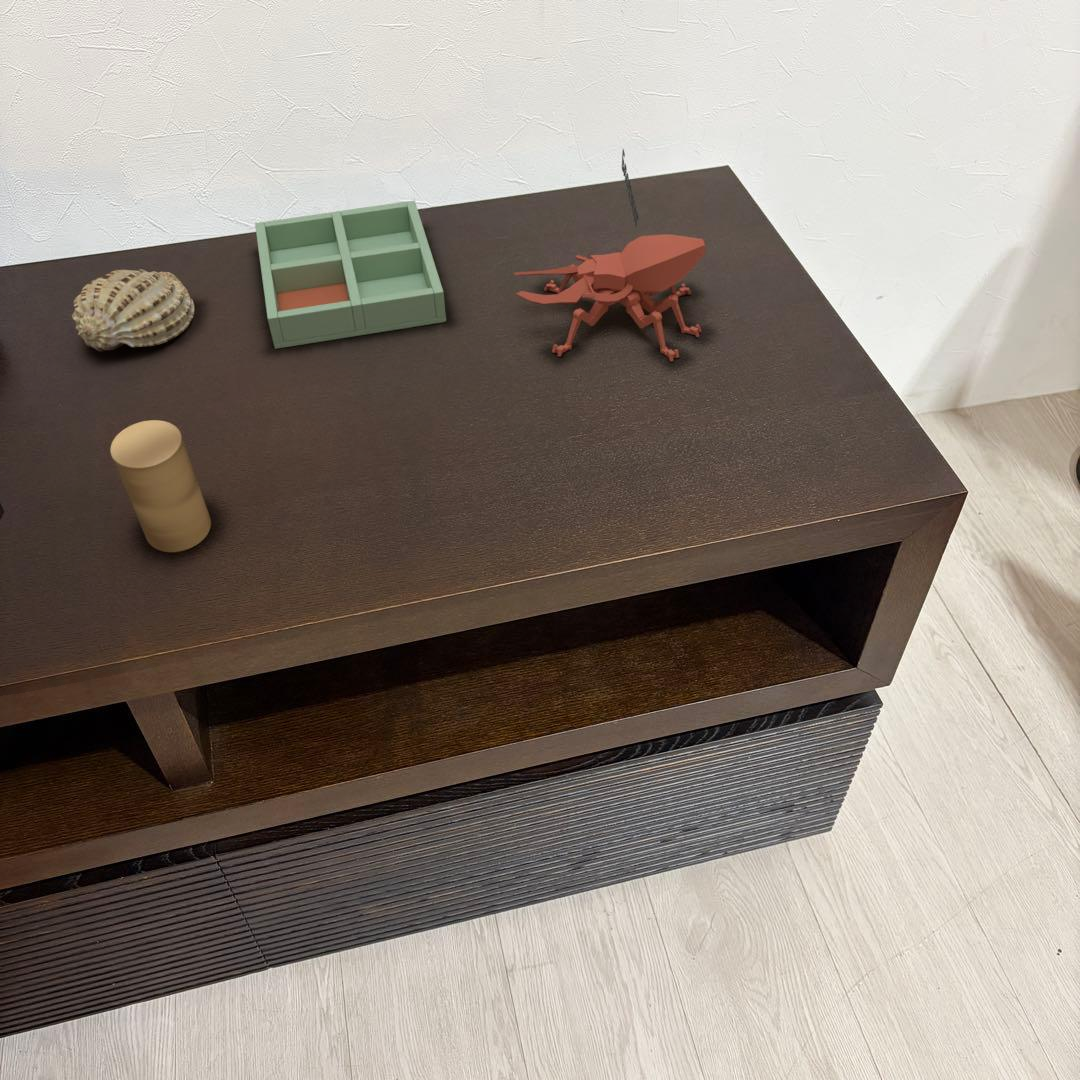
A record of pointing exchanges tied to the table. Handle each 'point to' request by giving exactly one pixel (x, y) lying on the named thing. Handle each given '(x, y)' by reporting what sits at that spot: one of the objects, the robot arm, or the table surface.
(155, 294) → the seashell
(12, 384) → the table surface
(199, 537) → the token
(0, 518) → the robot arm
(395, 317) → the grid
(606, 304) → the beetle
